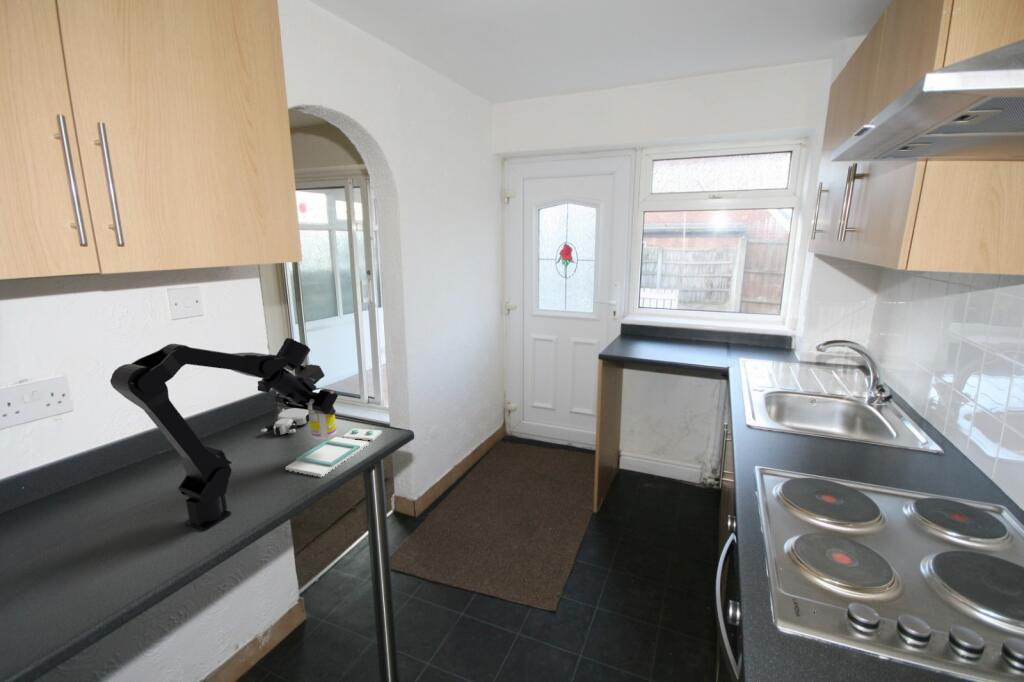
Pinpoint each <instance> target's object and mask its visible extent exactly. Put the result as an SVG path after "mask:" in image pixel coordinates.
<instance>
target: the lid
mask: <svg viewBox="0 0 1024 682" xmlns="http://www.w3.org/2000/svg"><path fill="white" fill-rule="evenodd" d="M382 431H383V430H380V429H379V430H378V429H364V428H351V429H350V430H349V431H348V432H347V433H345V434H344V435H343V436H342V438H343V437H346V438H355V439H363V440H362V441H368V440H370V442H371V441H374V440H376V439H377V438H378V437H379V436H380V435H381V434H382V433H383V432H382ZM355 439H354V440H355Z"/></svg>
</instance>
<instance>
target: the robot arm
mask: <svg viewBox="0 0 1024 682" xmlns="http://www.w3.org/2000/svg"><path fill="white" fill-rule="evenodd" d="M310 351H311V348H309V346H308V345H307V344H303V343H302V342H300V341H297V340H295V339H293V338H291V337H286V338H285V340H284V341H283V343H282V345H281V347H280V349H278V352H277V353H276V354H266V353H259V352H235V353H234V352H233V353H230V352H228V353H227V352H225V351H224V352H223V351H217V350H216V351H215V350H210V349H202V348H197V347H191V346H188V345H186V344H179V343H168V344H166V345H165V346H163V347H162V348H160V349H159V350H156V351H154V352H151V353H150V354H147V355H145V356H142V357H139V358H138V359H136V360H134V361H133V362H131V363H126V364H123V365H121V366H118V367H117V368H116V369H115V370H114V371H113V372H112V374H111V378H110V381H109V382H110V385H111V387H112V388H113V389H114V390H115V391H116V392H117V393H119V394H120V395H121V396H122V397H124V398H125V399H126V400H128V401H129V402H131V403H132V404H134V405H136V406H137V407H139V408H140V409H141V410H143V412H145V414H146V415H147V416H148V417H149V418H150V420H151V421H152V422H153V424H155V426H156V427H157V428H158V430H159V431H160V432H161V433H162V435H164V437H165V438H166V439H167V440H168V442H169V443H170V444H171V445H172V447H173V448H174V449H175V450H176V451H177V453H178V454H179V455H180V457H181V458H182V462H183V468H184V471H185V473H186V475H185V477H184V478H183V480H182V482H180V485H179V486H178V488H177V491H179V493H181V495H182V496H185V497H188V498H187V499H185V504H186V510H187V515H188V520H187V521H185V523H184V524H185V525H186V526H189V527H193V528H197V529H200V530H208V529H210V528H211V527H213V526H215V525H216V524H218V523H220V522H221V521H222V520H224V519H226V518H227V517H229V516H231V515H232V511H231V510H227V509H228V505H227V500H226V494H227V489H228V485H229V481H230V477H231V474H232V472H233V469H232V467H231V464H232V463H233V462H232V461H230V460H229V459H228V458H227V457H226V454H225V452H224V451H223V450H222V449H218V448H215V447H212V446H209V445H204V443H203V442H202V440H201V439H200V438H199V436H198V435H197V434H196V433H195V431H194V430H193V429H192V427H191V426H190V425H189V424H188V422H187V421H186V420H185V418H184V417H183V416H182V415H181V413H180V412H179V411H178V409H177V408H176V407H175V405H174V404H173V403H172V402H171V400H170V397H169V389H168V386H167V382H168V381H170V380H171V379H173V378H174V377H175V375H176V374H177V373H178V372H179V371H180V370H181V369H182V368H183V367H184V366H185V365H188V366H189V365H191V366H199V367H206V368H207V367H208V368H213V369H214V368H216V369H221V370H231V371H232V372H235V373H239V374H241V375H245V376H248V377H254V378H259V379H261V380H258V381H257V391H258V392H262V393H269V392H270V391H271V390H273V391H275V392H276V395H275V397H274V400H275V403H277V404H279V405H280V406H284V407H288V408H291V409H292V408H298V409H305V410H308V403H309V402H310V401H314V402H313V404H312V410H314V411H315V413H319V414H325V415H326V414H331V415H334V414H336V412H337V411H336V409H335V406H334V407H333V404H335V402H336V400H337V399H338V397H339V395H338V392H337V391H335V390H334V389H327V388H321V389H322V390H320V392H319V393H316V392H312V391H314V390H317V383H318V382H319V381H320V380H321V379H323V378H324V377H325V376H326V375H325V373H324V372H323V369H322V368H321V365H318V364H312V363H311V364H305V365H303V364H304V361H305V360H306V359H307V357H308V355H309V354H310ZM290 371H294V374H295V375H294V374H293V373H291V372H290Z"/></svg>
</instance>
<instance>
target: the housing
mask: <svg viewBox="0 0 1024 682" xmlns="http://www.w3.org/2000/svg"><path fill="white" fill-rule="evenodd" d="M369 445H370V442H369V441H367V440H355V439H347V438H343V437H340V436H335V437H333V438H332V439H330V440H328V439H327V440H326V439H325V441H323V442H321V443H320V444H318V445H316V446H314V447H313V448H311V449H309V450H308V451H306V452H304V453H303V454H301V455H300V456H297V457H296V458H295V459H296V460H294V461H292V462H291V463H289V464H288V465H286V466H285V471H286V470H289V471H288V472H292V471H294V472H293V473H297V472H299V473H298V474H302V473H303V475H307V474H308V476H312V475H313V477H317V476H318V478H323V477H324V476H325V474H326V475H327V474H329V473H330V472H332V471H333V470H334V469H336V468H337V467H339V466H341V465H342V464H343V463H345V462H346V461H348V460H349V459H351V458H352V457H353V456H355V455H357V454H358V453H360V452H361V451H362V450H364V449H365V448H367V447H368V446H369ZM366 446H367V447H366ZM364 447H365V448H364ZM363 448H364V449H363ZM360 450H361V451H360ZM357 452H358V453H357ZM354 454H355V455H354ZM351 456H352V457H351ZM350 457H351V458H350ZM348 458H349V459H348ZM347 459H348V460H347ZM344 461H345V462H344ZM342 462H343V463H342ZM341 463H342V464H341ZM338 465H339V466H338ZM335 467H336V468H335ZM332 469H333V470H332ZM331 470H332V471H331ZM328 472H329V473H328ZM322 476H323V477H322Z"/></svg>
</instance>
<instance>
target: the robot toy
mask: <svg viewBox="0 0 1024 682" xmlns="http://www.w3.org/2000/svg"><path fill="white" fill-rule="evenodd" d="M276 420H277V421H275V422H274V423H270V424H268V425H265V427H264V428H261V431H260V432H261V433H269V432H271V431H273V432H274V435H286V433H288V434H289V433H290V434H292V433H296V432H297V428H298V427H297V426H302V425H303V424H304V425H306V424H307V423H309V422H310V420H309V412H308V410H305V409H298V408H292V407H291V408H287V409H285V408H282V410H281V411H280V413H278V414H277V416H276Z"/></svg>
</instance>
